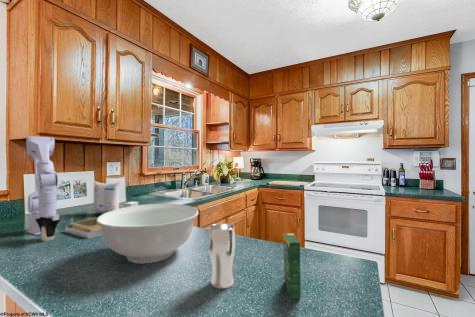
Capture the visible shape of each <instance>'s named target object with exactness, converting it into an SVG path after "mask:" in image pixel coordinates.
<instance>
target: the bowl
mask: <svg viewBox="0 0 475 317" xmlns="http://www.w3.org/2000/svg"><path fill="white" fill-rule="evenodd" d="M198 216H199V210H198V209H197V208H195V207H193V206H190V205H186V204H179V203H178V204H177V203H149V204H148V203H147V204H138V205H137V206H130V207H125V208H123V207H121V208H120V207H119V209H116V210H112V211H109V212H103V214H101V215H99V216H98V218H97V224H98V225H99V226H100V227H101V228H102V231H103V234H102V235H103V238H104V240H105V243H106V245H107V246H108V247H109V248H110V249H111V250H112V251H113V252H115V253H116V254H118V255H122V256H125V257H126V258H127V260H128V262H130V263H134V264H138V263H139V265H140V264H141V265H144V264H145V263H147V264H153V263H152V262H154V263H158V262H162V261H165V260H166V259H168V258H170V257H171V256H172V255H173V254H174V252H175V250H177V249H178V248H180V247H181V246H183V245H184V244H185V243H186V242H187V241H188V240H189V238H190V236H191V234H192V231H193V227H194V223H195V219H196V218H197V217H198ZM161 260H162V261H161ZM157 261H158V262H157Z"/></svg>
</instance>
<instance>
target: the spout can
mask: <svg viewBox="0 0 475 317" xmlns="http://www.w3.org/2000/svg"><path fill="white" fill-rule="evenodd" d="M41 228H42V234H41V242H48V241H53V240H54V239H55V235H54V236H52V237H47V235H46V229H45V226H42V227H41Z"/></svg>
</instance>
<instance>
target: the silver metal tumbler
mask: <svg viewBox="0 0 475 317" xmlns="http://www.w3.org/2000/svg"><path fill="white" fill-rule="evenodd" d="M208 249H209V256H210V261H211V270H212V271H211V272H212V273H211V279H210V285H211V287H213V288H216V289H219V290H220V289H224V290H225V289H228V288H230V287H232V286H233V285H234V282H235V280H234V275H233V266H234V265H233V262H234V258H235V251H236V234H235V225H234V224H232V223H225V222H223V223H222V222H220V223H219V222H217V223H214V224H211V225H209V235H208Z"/></svg>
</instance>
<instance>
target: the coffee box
mask: <svg viewBox="0 0 475 317" xmlns="http://www.w3.org/2000/svg"><path fill="white" fill-rule="evenodd" d="M283 269H284V272H283V273H284V275H283V276H284V277H283V278H284V279H283V280H284V284H285V287H286V290H287V294H288V297H289V298H293V299H295V298H296V299H299V298H301V242H300V241H299V240H298V238H297V237H296V235H295V234H294V233H292V232H288V233H287V232H285V233H283Z"/></svg>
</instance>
